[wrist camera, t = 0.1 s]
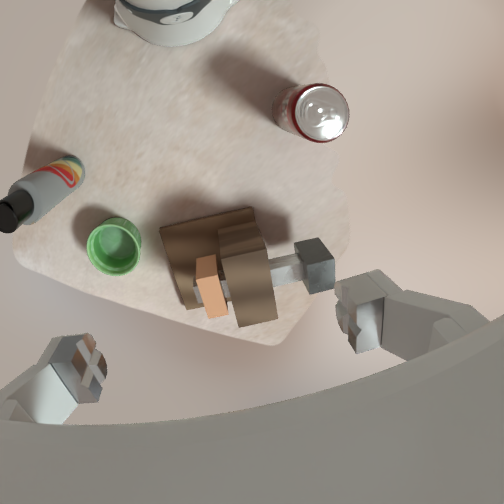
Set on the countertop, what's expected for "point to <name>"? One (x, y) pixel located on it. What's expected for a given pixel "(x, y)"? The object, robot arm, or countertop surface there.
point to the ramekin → (114, 247)
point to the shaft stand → (225, 261)
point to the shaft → (295, 269)
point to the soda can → (311, 112)
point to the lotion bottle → (40, 192)
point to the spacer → (210, 286)
